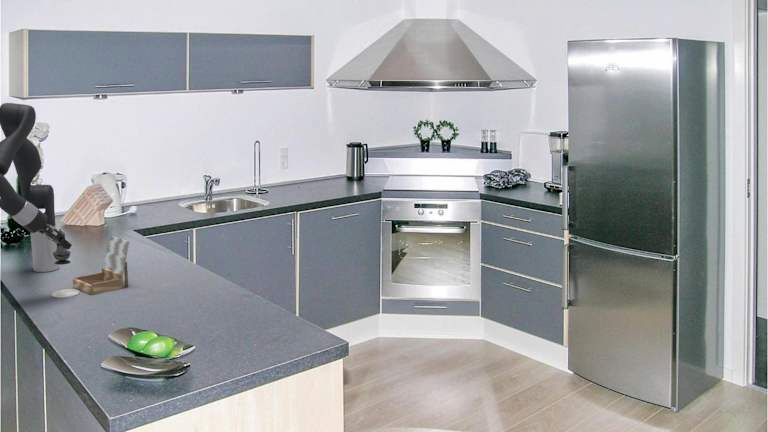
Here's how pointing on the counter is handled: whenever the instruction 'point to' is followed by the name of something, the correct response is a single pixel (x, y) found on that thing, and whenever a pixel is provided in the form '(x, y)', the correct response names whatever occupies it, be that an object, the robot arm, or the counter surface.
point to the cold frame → (107, 270)
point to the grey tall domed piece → (61, 253)
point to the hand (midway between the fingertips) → (66, 246)
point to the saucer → (65, 293)
